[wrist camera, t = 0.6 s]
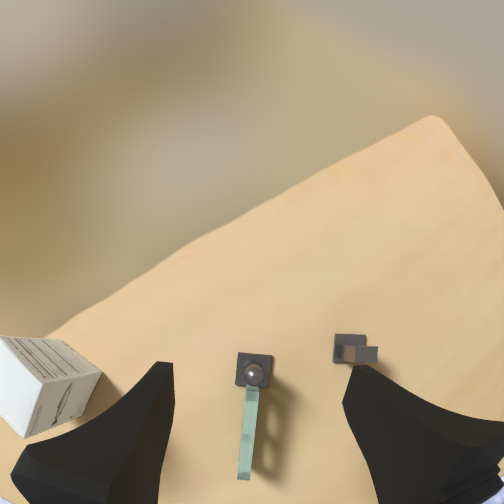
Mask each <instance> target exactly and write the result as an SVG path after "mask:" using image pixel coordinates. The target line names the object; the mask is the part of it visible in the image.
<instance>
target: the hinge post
mask: <svg viewBox="0 0 504 504" xmlns="http://www.w3.org/2000/svg"><path fill="white" fill-rule="evenodd" d="M271 359H272V355H263V354H251V353H241V352H238V360H237V370H236V381H235V385H244V386H246V384H248V385H250V386H252V387H257V386H258V387H269V379H270V369H271Z"/></svg>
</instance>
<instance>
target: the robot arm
mask: <svg viewBox="0 0 504 504" xmlns="http://www.w3.org/2000/svg"><path fill="white" fill-rule="evenodd" d="M342 404H343V408H344V411H345V415H346V418H347V421H348V424H349V426H350V428H351V430H352V432H353V435H354V437H355V439H356V441H357V443H358V445H359V447H360V449H361V451H362V453H363V456H364V458H365V460H366V462H367V465H368V467H369V470H370V473H371V477H372V480H373V483H374V487H375V491H376V494H377V498H378V503H379V504H504V475H503V476H502V477H501V478H500V477H499V476H498V473H499V472H500V468H499V467H498V465H497V464H498V463H499V462H500V461H501V459H502V458H503V457H504V422H501V421H490V420H483V419H477V418H472V417H468V416H464V415H461V414H458V413H454V412H451V411H448V410H446V409H443V408H441V407H438V406H436V405H434V404H432V403H429V402H427V401H425V400H423V399H421V398H420V397H418V396H416V395H414V394H412V393H411V392H409V391H407V390H406V389H404V388H403V387H401V386H399V385H398V384H396V383H395V382H393V381H392V380H390V379H389V378H387V377H386V376H384V375H383V374H381V373H379V372H378V371H376V370H375V369H373V368H371V367H370V366H368V365H357V366H353V370H352V373H351V376H350V379H349V383H348V386H347V389H346V392H345V395H344V398H343V401H342ZM174 407H175V393H174V375H173V363H169V362H159V361H157V362H156V363H155V364H154V365H153V366H152V367H151V368H150V370H149V371H148V372H147V373H146V374H145V375H144V376H143V377H142V378H141V380H140V381H139V382H138V383H137V384H136V385H135V386H134V387H133V388H132V389H131V390H130V391H129V392H128V393H126V394H125V395H124V396H123V397H122V398H121V399H120V400H119V401H117V402H116V403H115V404H114V405H113V406H111V407H110V408H109V409H107V410H106V411H105V412H103V413H102V414H100V415H99V416H97V417H96V418H94V419H92V420H91V421H89V422H87V423H85V424H84V425H82V426H80V427H78V428H76V429H74V430H72V431H69V432H67V433H65V434H62V435H60V436H57V437H54V438H51V439H48V440H44V441H41V442H37V443H33V444H29V445H27V446H26V448H25V449H24V451H23V452H22V454H21V455H20V457H19V459H18V461H17V463H16V465H15V467H14V469H13V471H12V473H11V474H10V475H11V479H12V481H13V483H14V485H15V486H16V488H17V489H18V490H19V491H20V493H21V494H22V495H23V496H24V497H25V499H26V500H27V501H28V502H29V503H30V504H158V493H159V483H160V474H161V469H162V464H163V460H164V456H165V452H166V448H167V444H168V440H169V436H170V432H171V428H172V423H173V416H174ZM0 504H14V503H12V502H10V501H8V500H6V499H5V498H3V497H1V496H0Z"/></svg>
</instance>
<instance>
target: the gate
mask: <svg viewBox="0 0 504 504" xmlns="http://www.w3.org/2000/svg"><path fill="white" fill-rule="evenodd" d="M258 400H259V388H258V386H257V387H252V386H250V385H248V384H246V394H245V404H244V414H243V424H242V434H241V443H240V453H239V462H238V477H237V480H250V472H251V463H252V455H253V446H254V437H255V428H256V419H257V410H258Z"/></svg>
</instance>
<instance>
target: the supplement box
mask: <svg viewBox="0 0 504 504" xmlns="http://www.w3.org/2000/svg"><path fill="white" fill-rule="evenodd" d="M101 374H102V372H101V371H100V370H99V369H97V368H96V367H95V366H94V365H92V364H91V363H90V362H89V361H87V360H86V359H85V358H84V357H82V356H81V355H80V354H79V353H77V352H76V351H75V350H74V349H73V348H71V347H70V346H69V345H68V344H67V343H65V342H64V341H63V340H61V339H42V338H24V337H9V336H1V335H0V415H1V416H2V417H3V418H4V419H5V421H6V422H7V423H8V424H9V425H10V426H11V427H12V428H13V429H14V430H15V431H16V432H17V433H18V434H19V435H20V436H21V437H22V438H23V439H25V438H28V437H30V436H33V435H36V434H38V433H41V432H43V431H46V430H48V429H51V428H53V427H56V426H58V425H61V424H63V423H65V422H68V421H70V420H73V419H75V418H77V417H80V416H82V415H83V412H84V410H85V407H86V405H87V402H88V400H89V398H90V396H91V394H92V391H93V389H94V387H95V385H96V383H97V381H98V380H99V378H100V376H101Z"/></svg>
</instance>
